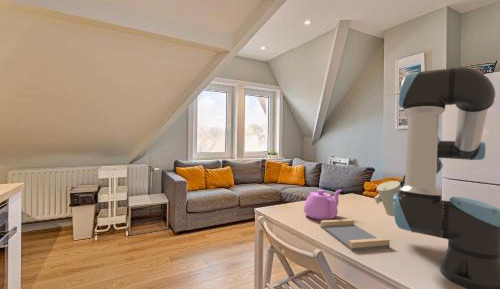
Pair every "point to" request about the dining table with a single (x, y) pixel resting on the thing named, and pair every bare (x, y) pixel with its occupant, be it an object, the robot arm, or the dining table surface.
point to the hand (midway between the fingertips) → (386, 201)
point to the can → (388, 194)
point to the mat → (353, 235)
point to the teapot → (321, 205)
